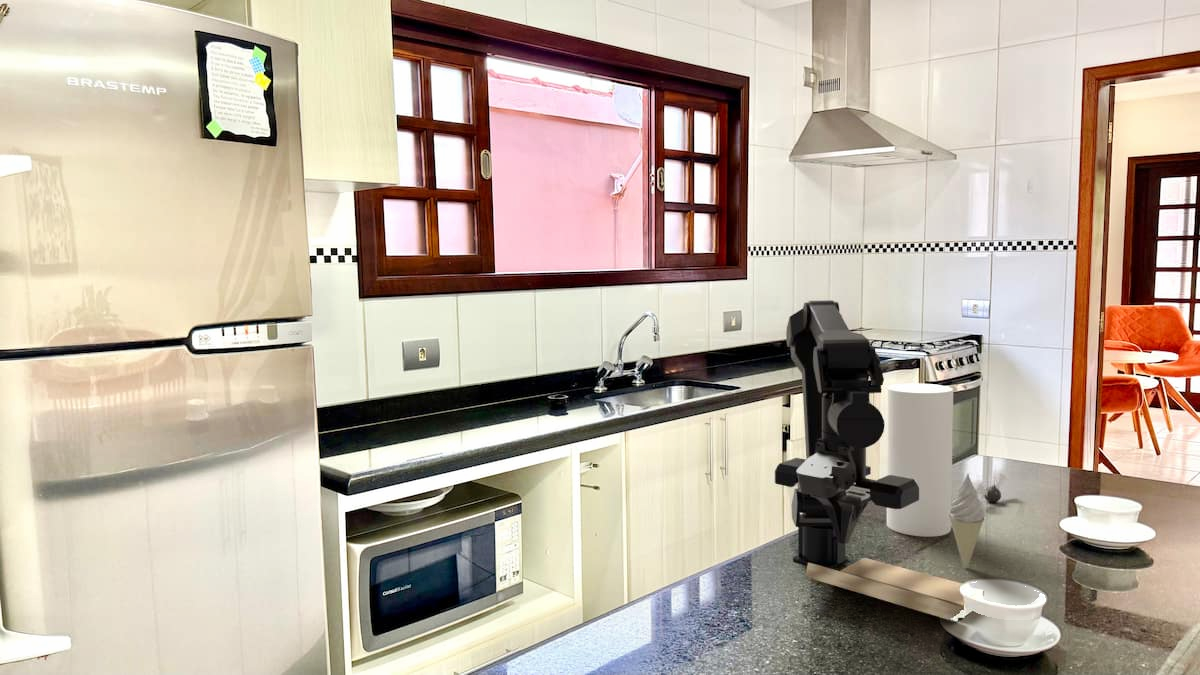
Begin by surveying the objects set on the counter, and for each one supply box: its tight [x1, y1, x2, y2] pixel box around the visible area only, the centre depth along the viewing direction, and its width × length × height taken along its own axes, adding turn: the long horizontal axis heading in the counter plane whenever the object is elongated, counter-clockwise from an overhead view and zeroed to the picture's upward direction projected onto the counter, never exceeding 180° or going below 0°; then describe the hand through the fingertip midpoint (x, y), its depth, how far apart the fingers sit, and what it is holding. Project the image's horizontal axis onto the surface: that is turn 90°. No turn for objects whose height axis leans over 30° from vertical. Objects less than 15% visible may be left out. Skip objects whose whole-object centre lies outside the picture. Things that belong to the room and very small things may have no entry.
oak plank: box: [804, 562, 961, 621], centre depth 112 cm, size 18×9×2 cm, turn 44°
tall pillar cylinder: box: [886, 382, 954, 538], centre depth 145 cm, size 11×11×25 cm
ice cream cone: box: [949, 473, 986, 569], centre depth 126 cm, size 5×5×15 cm
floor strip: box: [840, 557, 964, 610], centre depth 118 cm, size 18×8×2 cm, turn 44°
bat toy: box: [975, 474, 1009, 504], centre depth 159 cm, size 3×15×5 cm, turn 130°
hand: (843, 543), depth 112 cm, fingers closed
